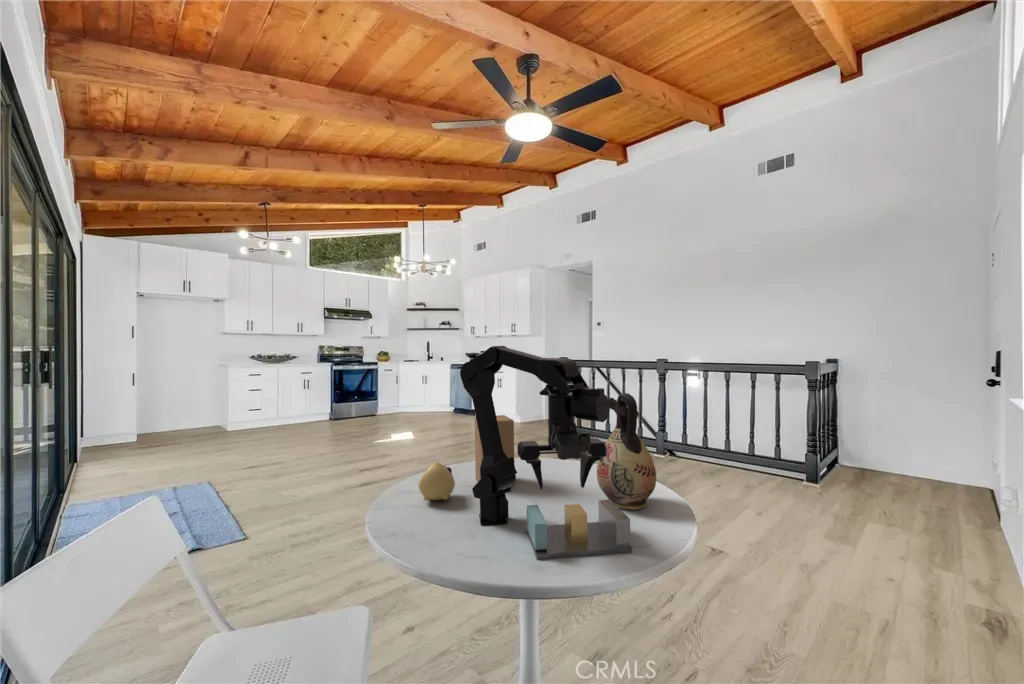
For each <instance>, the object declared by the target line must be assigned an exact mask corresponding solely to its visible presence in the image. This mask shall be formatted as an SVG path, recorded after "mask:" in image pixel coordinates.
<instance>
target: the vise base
mask: <svg viewBox="0 0 1024 684" xmlns="http://www.w3.org/2000/svg"><path fill="white" fill-rule="evenodd" d="M525 532H526V534H527V537H528V539H529V542H530V545H531V549H532V551H533V553H534V556H535V558H536V560H537V561H538V560H548V559H563V558H575V557H576V558H577V557H588V556H589V557H590V556H605V555H616V554H625V553H626V554H627V553H633V547H632V545H631V519H630V518H629V516H628V515H627V514H626V513H625V512H624V511H623V509H621V508H619V507H618V506H617V505H616V504H615V503H614V502H613V501H612V500H609V499H599V500H598V521H595V522H587V535H588V542H582V543H571V541H570V540H569V538H568V536H567V535H566V533H565V523H563V524H551V525H548V524H547V549H541V550H535V547H534V545H533V542H532V540H531V537H530V535H529V532H528V529H527V526H526V527H525Z"/></svg>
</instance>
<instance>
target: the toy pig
mask: <svg viewBox="0 0 1024 684" xmlns="http://www.w3.org/2000/svg"><path fill="white" fill-rule="evenodd" d="M452 472H453V470H452V468H451V467H449V466H446V465H445V464H443V463H440V462H438V461H436V462H434V463H432V464H431V465H430V466H429V467H428V468H427V469H426V470H425V472H424V473H423V475H422V476H421V477H420V480H419V482H418V489H419V492H420V493H421V495H422V496H423V500H424V501H425V502H427V501H440V500H444V501H445V500H446V501H447V500H448V499H449V498H450V497H451V494H452V493H453V491H454V489H455V486H456V485H455V484H456V481H455V477H454V476H453V473H452ZM449 496H450V497H449ZM448 497H449V498H448Z"/></svg>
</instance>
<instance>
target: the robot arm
mask: <svg viewBox="0 0 1024 684" xmlns="http://www.w3.org/2000/svg"><path fill="white" fill-rule="evenodd" d="M503 366H505V367H508V368H511V369H516V370H519V371H521V372H524V373H529V374H532V375H533V376H535V377H536V378H537V379H538V380H539V381H540V382H542V383H545V384H546V385H545V387H543V389H542V390H540V391H539V395H540V396H548V397H547V400H548V401H547V405H548V406H547V408H548V409H547V413H548V414H547V416H548V417H547V418H548V419H547V425H548V427H547V429H548V431H547V434H548V436H547V437H548V438H547V444H538V443H537V441H536V440H526V441H525V440H523V441H519V442H518V444H517V456H518V457H519V458H520V461H525V462H526V464H530V466H531V467H532V469H533V473H534V475H535V478H536V480H537V484H538V487H539V490H540V491H543V488H544V487H543V475H542V460H541V459H540V456H541V455H551V454H557V458H558V459H559V460H562V461H563V460H565V461H566V460H569V459H571V460H572V459H573V460H579V459H580V461H579V462H580V463H579V464H580V465H579V466H580V467H579V468H580V471H579V472H580V473H579V477H580V478H579V481H580V487H581V488H582V489H584V488H585V486H586V482H587V479H588V476H589V474H590V472H591V469H592V467H593V465H594V464H595V463H596V462H598V460H600V459H601V458H600V457H605V456H607V447H606V445H605V444H606V443H604V441H602V440H600V439H599V438H597V437H596V438H592V437H591V435H590V433H588V432H586V433H578V432H577V424H576V421H575V418H576V419H577V420H583V421H589V422H591V421H592V422H600V423H604V422H606V421H607V419H608V418H609V414H610V410H611V409H610V403H609V402H608V400H609V399H608V396H607V395H606V394H605V389H604V388H602V387H597V388H592V387H591V388H590V387H589V385H588V383H587V382H586V380H585V379H584V378H583V375H582V374H581V373H580V371H579V367H578V365H577V362H576V361H575V360H574V359H572V358H562V357H560V358H559V357H543V356H539V355H538V356H537V355H535V354H531V353H527V352H525V351H524V352H523V351H521V350H517V349H513V348H509V347H507V346H505V345H492V346H490V347H488V348H487V349H485V351H484V352H482V353H480V354H479V355H477V356H475V357H473V358H472V359H470V360H469V361H466V362H464V363H463V364H462V366H461V368H460V370H459V374H460V375H459V376H460V379H461V382H462V385H463V388H464V390H465V391H466V392H467V394H468V395H469V396H470V397H471V399H472V404H473V408H474V413H475V417H476V420H477V425H478V430H479V435H480V440H481V445H482V450H483V459H482V463H481V467H480V477H481V479H480V480H479V482H477V483H476V484H475V485H474V486H473V487H472V488H471V490H472V495H473V497H474V498H475V499H479V514H478V517H479V523H480V525H481V526H486V525H501V524H503V525H505V524H508V519H509V515H510V514H509V501H508V500H509V499H508V498H507V495H506V494H507V493H511V491H512V487H513V486H512V485H513V484H514V482H516V480H517V477H516V476H517V474H518V471H517V469H516V467H515V466H516V465H515V458H514V459H513V457H510V458H508V457H507V455H506V454H505V453H504V451H503V448H502V443H501V438H500V433H499V428H498V423H497V418H496V416H497V413H496V409H495V404H494V400H493V390H494V387H495V383H496V378H495V374H497V373H498V372H499V371H500V370H501V369H502V367H503Z"/></svg>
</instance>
